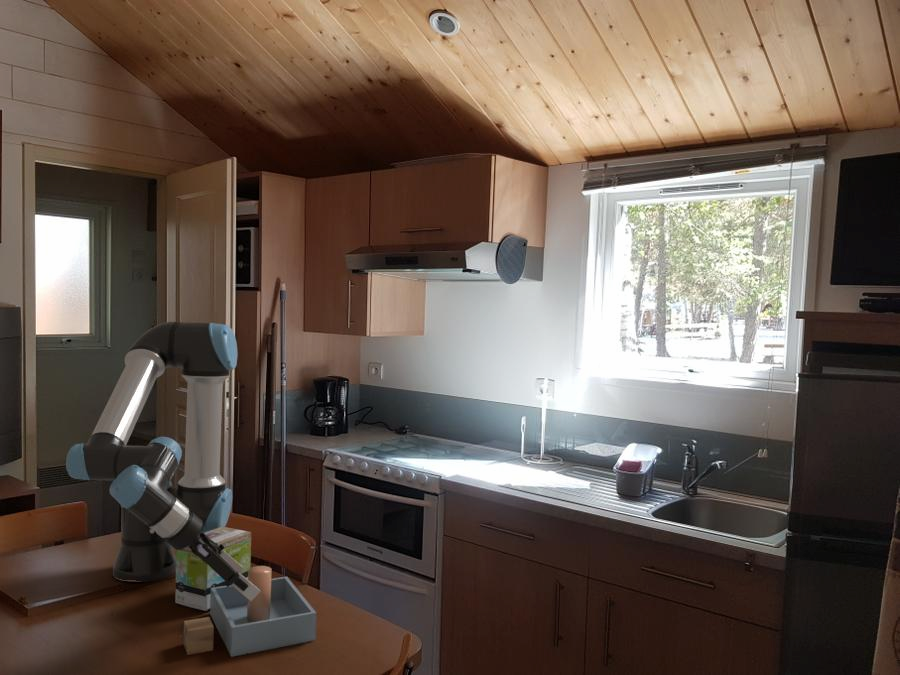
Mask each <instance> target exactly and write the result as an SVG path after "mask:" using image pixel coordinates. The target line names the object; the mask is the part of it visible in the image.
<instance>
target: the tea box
mask: <svg viewBox="0 0 900 675" xmlns="http://www.w3.org/2000/svg"><path fill="white" fill-rule="evenodd" d="M204 534H205V535H206V536H207V537H208V538H210V539H211V540H212V541H214V542H215V543H217V545H218V547H219V546H220V544H222V545H223V546H224V547H225V548H224V549H223V550H224V551H225V552H226V553H227V554H228V555H229V556H231V557H232V558H233V559H234V560H235V561H237V562H238V563H239V564H240V565H241V566H242V567H243V568H244V569H243V570H242V571H241V572H240V574H241V575H243V576H244V577H245V578H246V579H247V580H248V570H249V569H250V568H252V566H251V564H252V563H251V561H252V560H251V559H252V550H251V549H252V548H251V547H252V531H247V530H242V529H237V528H230V527H227V526H225V527H219V528H216V529H213V530H210V531H207V532H205V533H204ZM223 550H222V551H223ZM175 551H176V552H175V553H176V555H175V557H176V571H175V593H174V594H175V597H174V598H175V601H174V602H175V604H178V605H181V606H184V607H189V608H193V609H197V610H200V611H204V612H206V611H208V610H210V596H211V588H214V587H221V586H226V584H227V582H226V581H225V580H224V579H223V578H222V577H220V576H219V575H218V574H217V573H216V572H215V571H214V570H213V569H212V568H211V567H210V566H209V565H208V564H207V563H205V562H204V561H203V560H202V559H201V558H200V557H199V556H197V555H195V554H194V553H193V552H192V551H191V549H190V548H189V546H187V547H185V548H184V549H182V550H176V549H175ZM222 551H221V552H222Z"/></svg>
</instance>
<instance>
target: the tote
mask: <svg viewBox="0 0 900 675" xmlns="http://www.w3.org/2000/svg"><path fill="white" fill-rule="evenodd" d="M209 615H210V617H211V619H212V620H213V622H214V625H215V627H216V629H217V631H218V632H219V635H220V637H221V640H222V641H223V643H224V645H225V647H226V649H227V651H228V654H229V655H230V657H231V658H233V657H236V656H237V657H238V656H243V655H247V653H248V654H253V653H258V652H263V651H268V650H273V649H278V648H283V647H288V646H293V645H298V644H303V643H308V642H313V641H316V633H317V611H316V610H315V609H314V608H313V607H312V606H311V604H310V603H309V602H308V600H307V599H306V598H305V597H304V596H303V594H302V593H301V592H300V590H298V588H297V587H296V585H295V584H294V583H293V582H292V581H291V580H290V578H289V577H288V576H282V577H275V578H271V604H270V619H269V620H263V621H257V622H252V623H250V622H248V621H247V598H246V597H245V596H244V595H243V594H242V593H240V592H239V591H238V590H237V589H235V588H234V587H233V586H232V585H231V586H229V587H227V586H221V587H214V588H211V596H210V609H209Z"/></svg>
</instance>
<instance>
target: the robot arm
mask: <svg viewBox="0 0 900 675" xmlns="http://www.w3.org/2000/svg"><path fill="white" fill-rule="evenodd" d="M237 344H238V343H237V339H236V336H235V332H234V331H233V329H232V328H231V327H230V326H229V325H227V324H223V323H214V322H187V321H186V322H184V321H183V322H181V321H167V322H162V323H159V324H157V325H154V326H153V327H151V328H149V329H148V330H147V331H145V332H143V333H142V334H141V335H140V336H139V337H138V338H137V339H136V340H134V342H133V344H132V345H131V346H130V348H129V349H128V351H127V353H126V354H125V357H124V365H125V367H124V369H123V371H122V373H121V374H120V377H119V379H118V380H117V383H116V385H115V387H114V389H113V390H112V393H111V395H110V397H109V399H108V401H107V404H106V405H105V407H104V409H103V411H102V413H101V415H100V417H99V419H98V421H97V423H96V424H95V425H96V426H95V428H94V430H93V431H92V434H91V435H90V437H89V438H88V440H87V442H86V443H85V442H82V443H75V444H73V446H71V447H70V449H69V450H68V452H67V455H66V459H65V460H66V461H65V467H66V468H65V469H66V471H67V474H68V475H69V476H70V478H73V479H75V480H83V481H112V482H111V484H110V486H109V495H110V496H112V497H113V499H114V500H116V501H117V502H118V503H119V505H120V507H121V516H120V518H121V519H120V522H121V525H120V539H121V540H120V546H119V549H118V551H117V554H116V558H115V560H114V562H113V566H112V577H113V576H114V577H116V578H118V579H122V580H136V581H141V582H144V583H150V582H156V581H160V580H164V579H165V578H167V577H170V576H172V575H174V574H175V573H176V555H175V552H174V550H175V551H176V550H182V549H184V548H185V547H187V546H189V548H190V549H191V551H192V552H193V553H194V554H195V555H197V556H199V557H200V558H201V559H202V560H203V561H204V562H205V563H207V564H208V565H209V566H210V567H211V568H212V569H213V570H214V571H215V572H216V573H217V574H218V575H219V576H220V577H222V578H223V579H224V580H225V581H226V582H227V584H226V586H227V587H229V586H231V585H232V586H233V587H234V588H235V589H237V590H238V591H239V592H240V593H242V594H243V595H244V596H245V597H246V598H248V599H249V600H250V601H252V600H253V599H254V598H255V597H256V596H257V595H258V594H259V592H260V590H259V589H258V588H257V587H256V586H254V585H253V584H252V583H251V582H250V581H248V580H247V579H246V578H245V577H244V576H243V575H241V574H240V572H241V571H242V570H243V569H244V568H243V567H242V566H241V565H240V564H239V563H238V562H237V561H235V560H234V559H233V558H232V557H231V556H229V555H228V554H227V553H226V552H225V551H224V550H223V549H224V548H225V547H224V546H223V545H222V544H220V546H219V547H218V545H217V543H215V542H214V541H212V540H211V539H210V538H208V537H207V536H206V535H205V534H204V533H205V532H207V531H210V530H213V529H216V528H219V527H226V526H227V524H228V520H229V518H230V517H229V516H230V513H231V510H232V504H233V490H232V489H230V488H229V487H228V488H227V487H226V480H225V479H224V477H223V476H222V475H221V474H220V473H221V472H220V470H221V468H220V467H221V442H222V440H221V439H222V418H223V417H222V416H223V415H222V414H223V386H224V382H225V381H226V380H227V379H228V378H229V377H230V371H232V370H234V369H236V367H237V365H238V363H237V362H238V345H237ZM168 368H181V377H182V378H183V379H185V381H186V382H187V386H186V388H187V390H186V392H187V393H186V422H185V423H186V424H185V451H184V453H185V454H184V475H183V476H182V477H181V478H180V479H179V480H178V481H177V487H175V486H173V483H172V479H173V476H174V474H175V473H176V471H177V470H178V469H179V464H180V461H181V458H182V456H183V454H182V453H183V450H182V448H181V446H180V444H179V443H178V442H177V441H176V440H174V439H173V438H171V437H168V436H159V437H155V438H154V439H152V440H150V442H149V443H148V444H147V445H127V444H128V442H129V439H130V437H131V436H132V433H133V431H134V429H135V426H136V424H137V421H138V419H139V417H140V415H141V413H142V411H143V409H144V406H145V404H146V402H147V401H148V400H147V399H148V397H149V396H150V393H151V391H152V389H153V387H154V384H155V383H156V380H157V378H159V377H161V376H162V375H163V374H164V373H165V370H166V369H168ZM173 548H174V549H173ZM222 550H223V551H222ZM221 551H222V552H221ZM174 572H175V573H174ZM114 577H113V578H114Z"/></svg>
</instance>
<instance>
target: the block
mask: <svg viewBox="0 0 900 675" xmlns="http://www.w3.org/2000/svg"><path fill="white" fill-rule="evenodd" d="M214 629H215V628H214V624H213V622H212V620H211V618H210V616H206V617H201V618H194V619H189V620H184V621H183V647H184V650H185V652H187V653H186V655H187V656H189V655H196V654H201V653H205V652H206V651H207V652H210V651H214V631H215V630H214Z"/></svg>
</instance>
